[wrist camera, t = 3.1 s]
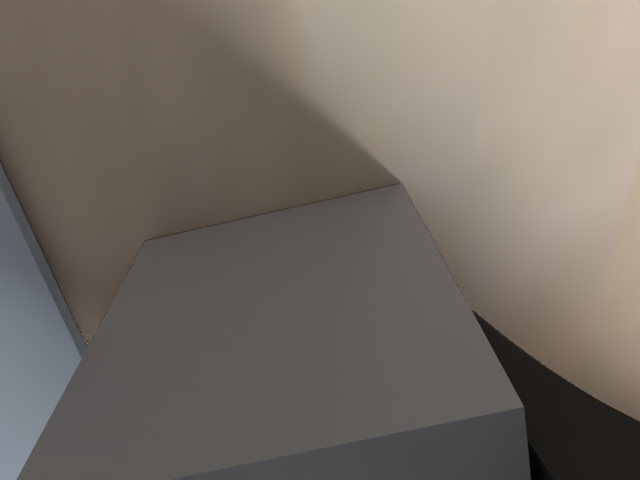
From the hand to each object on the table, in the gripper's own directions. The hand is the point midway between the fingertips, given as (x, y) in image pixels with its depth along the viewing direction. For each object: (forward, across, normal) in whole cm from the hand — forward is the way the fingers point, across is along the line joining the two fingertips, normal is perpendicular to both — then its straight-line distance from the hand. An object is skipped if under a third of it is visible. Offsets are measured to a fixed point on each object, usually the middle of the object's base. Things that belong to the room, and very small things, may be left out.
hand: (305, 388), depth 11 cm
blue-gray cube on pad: (+2, 0, 0) cm, 2 cm away
